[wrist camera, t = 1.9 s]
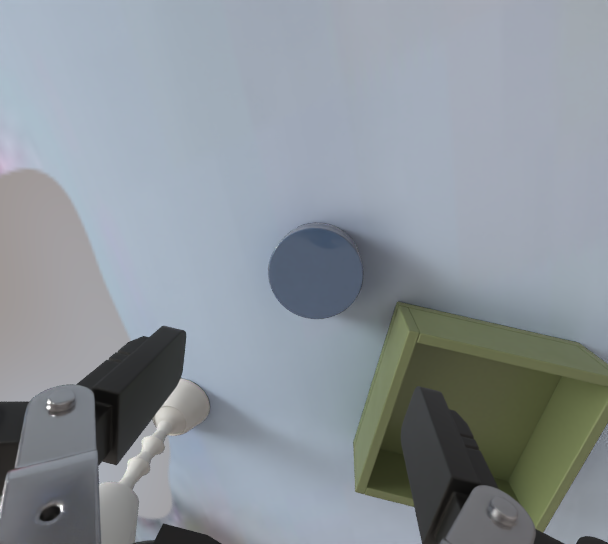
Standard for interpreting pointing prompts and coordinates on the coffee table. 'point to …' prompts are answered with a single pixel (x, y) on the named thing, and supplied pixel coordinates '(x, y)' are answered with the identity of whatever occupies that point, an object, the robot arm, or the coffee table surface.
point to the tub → (486, 404)
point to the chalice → (148, 461)
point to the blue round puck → (316, 271)
